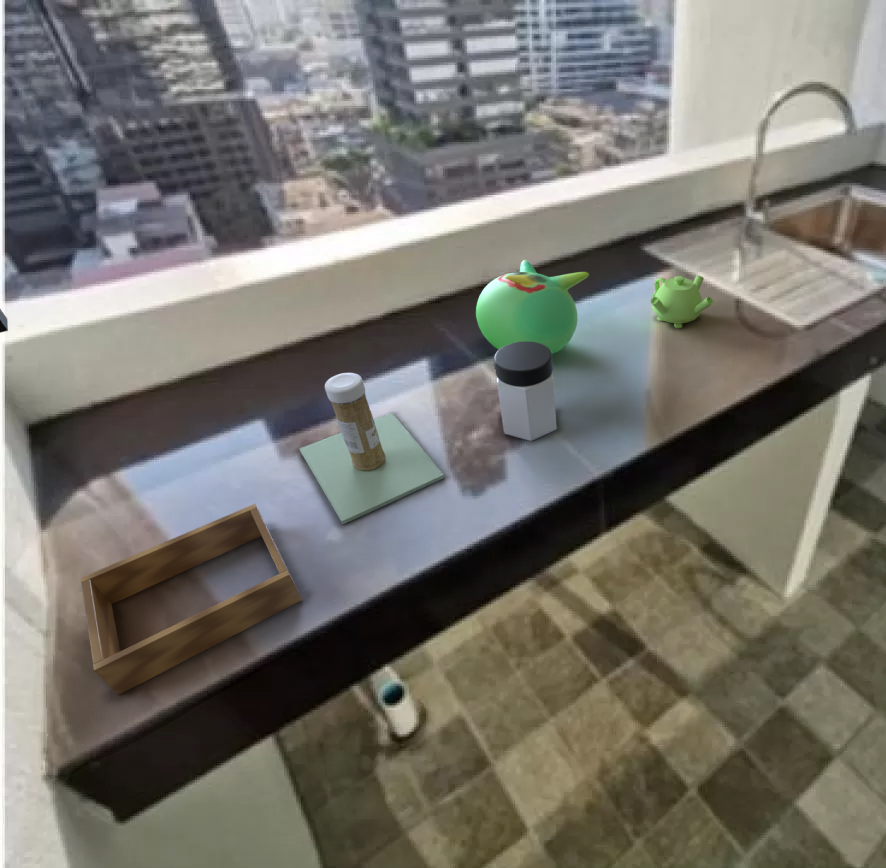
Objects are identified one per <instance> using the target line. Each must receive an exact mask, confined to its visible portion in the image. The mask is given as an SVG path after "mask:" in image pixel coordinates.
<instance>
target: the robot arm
mask: <svg viewBox="0 0 886 868" xmlns="http://www.w3.org/2000/svg"><path fill="white" fill-rule="evenodd" d="M8 331H9V323H8V318H7V316H6V315H5V313H4V312H3V311H2V309H1V308H0V333H4V332H8Z"/></svg>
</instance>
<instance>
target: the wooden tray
mask: <svg viewBox="0 0 886 868" xmlns="http://www.w3.org/2000/svg"><path fill="white" fill-rule="evenodd" d="M261 537H262V540H263V542H264V544H265V546H266V548H267V550H268V552H269V554H270V557H271V559H272V561H273V563H274V565H275V567H276V569H277V572H278V574H276V575H274V576H272V577H270V578H268V579H266V580H264V581H262V582H260V583H257V584H255V585H253V586H251V587H249V588H247V589H245V590H243V591H241V592H239V593H238V594H235V595H233V596H230V597H229V598H227V599H225V600H223V601H220V602H219V603H217V604H215V605H213V606H210V607H208V608H206V609H204V610H203V611H200V612H198V613H196V614H194V615H192V616H190V617H188V618H186V619H184V620H182V621H180V622H177V623H175V624H174V625H172V626H169V627H167V628H165V629H163V630H161V631H159V632H157V633H155V634H153V635H151V636H149V637H147V638H144V639H142V640H141V641H138V642H136V643H134V644H132V645H131V646H128V647H127V648H125V649H122V650H121V648H120V643H119V638H118V631H117V626H116V621H115V615H114V610H113V604H115V603H117V602H119V601H122V600H124V599H126V598H128V597H130V596H133V595H135V594H137V593H140V592H141V591H144V590H147V589H148V588H150V587H153V586H155V585H157V584H159V583H162V582H163V581H166V580H168V579H170V578H173V577H175V576H177V575H179V574H181V573H184V572H186V571H188V570H190V569H192V568H195V567H197V566H199V565H201V564H203V563H205V562H207V561H210V560H212V559H214V558H217V557H219V556H221V555H223V554H226V553H228V552H230V551H233V550H235V549H237V548H239V547H241V546H244V545H246V544H248V543H250V542H252V541H255V540H256V539H258V538H261ZM80 583H81V590H82V596H83V597H82V598H83V603H84V609H85V610H84V612H85V618H86V625H87V631H88V638H89V645H90V651H91V652H90V654H91V659H92V668H93V671H94V672H95V674H97V676H98V677H100V678H101V679H102V680H103V682H105V684H106V685H108V686H109V688H111V689H112V691H114V692H115V694H117V695H118V696H120V695H121V694H124V693H126V692H127V691H129V690H131V689H134V688H135V687H137V686H139V685H141V684H143V683H145V682H147V681H149V680H151V679H153V678H155V677H156V676H159V675H160V674H162V673H164V672H166V671H169V670H170V669H173V668H174V667H175V666H178V665H180V664H181V663H182V664H183V662H186V661H187V660H189V659H191V658H193V657H195V656H197V655H199V654H201V653H204V652H205V651H207V650H209V649H210V648H211V649H212V648H213V647H215V646H216V645H218V644H221V643H222V642H224V641H226V640H228V639H230V638H232V637H234V636H236V635H238V634H240V633H241V632H244V631H245V630H247V629H249V628H251V627H253V626H255V625H257V624H259V623H262V622H263V621H265V620H267V619H269V618H271V617H272V616H275V615H276V614H278V613H280V612H282V611H284V610H287V609H288V608H290V607H292V606H293V605H295V604H297V603H299V602H301V601H303V597H302V595H301V593H300V591H299V589H298V587H297V585H296V583H295V581H294V578H293V576H292V575H291V573H290V571H289V568H288V566H287V564H286V562H285V560H284V558H283V556H282V554H281V551H280V550H279V548H278V546H277V544H276V542H275V540H274V538H273V536H272V534H271V531H270V530H269V528H268V525H267V524H266V521H265V520H264V518H263V516H262V514H261V512H260V510H259V508H258V506H257V505H256V503H253V504H251V505H249V506H246V507H243V508H241V509H239V510H237V511H234V512H232V513H230V514H227V515H225V516H223V517H220V518H218V519H215V520H213V521H212V522H209V523H206V524H204V525H202V526H200V527H197V528H195V529H192V530H190V531H188V532H185V533H182V534H180V535H178V536H176V537H174V538H171V539H168V540H166V541H163V542H162V543H159V544H157V545H155V546H151V547H150V548H148V549H145V550H143V551H141V552H138V553H136V554H133V555H130V556H128V557H127V558H124V559H121V560H120V561H117V562H115V563H113V564H110V565H108V566H105V567H102V568H101V569H98V570H96V571H94V572H92V573H89V574H86V575H84V576H82V577H80Z"/></svg>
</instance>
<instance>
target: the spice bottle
mask: <svg viewBox="0 0 886 868" xmlns="http://www.w3.org/2000/svg"><path fill="white" fill-rule="evenodd" d="M324 390H325V394H326V396H327V399H328V400H329V402H330V403H331V405H332V409H333V411H334V414H335V418H336V421H337V424H338V426H339V427H338V428H339V430H340V433H342V435H343V438H344V441H345V443H346V446H347V448H348V450H349V453H350V455H351V458H352V464H353V466H354V467H355V468H356V469H358V470H363V471H367V470H372V469H375V468H377V467H379V466H380V465H381V464H382V463H383V462H384V460H385V453H384V451H383V449H382V446H381V442H380V438H379V435H378V432H377V429H376V426H375V423H374V420H375V419H374V416H373V414H372V411H371V409H370V405H369V402H368V399H367V395H366V386H365V384H364V381H363V378H362V376H361V375H360V374H357V373H355V372H342V373H339V374H335V375H334V376H331V377H330V378H329V379H327V380H326V382H325V384H324Z"/></svg>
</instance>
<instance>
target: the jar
mask: <svg viewBox="0 0 886 868" xmlns="http://www.w3.org/2000/svg"><path fill="white" fill-rule="evenodd" d="M493 361H494V362H493V367H494V370H495V376H496V386H497V393H498V399H499V407H500V408H499V409H500V414H501V421H502V422H501V423H502V428H503V433H504V434H505V435H506V436H510V437H514V438H519V439H522V440H526V441H528V442H529V441H530V442H532V441H534V440H538V439H539V438H541V437H543V436H545V435H548V434H549V433H552V432H554V431H556V430H557V428H558V426H557V413H556V399H555V398H556V397H555V385H554V373H553V371H554V365H553V362H554V361H553V354H552V353H551V351H550V349H549V348H548V347H546V346H545V345H543V344H540V343H536V342H529V341H523V342H515V343H511V344H508V345H506V346H504V347H502V348H501V349H497V351H496V352H495V354H494V356H493Z"/></svg>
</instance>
